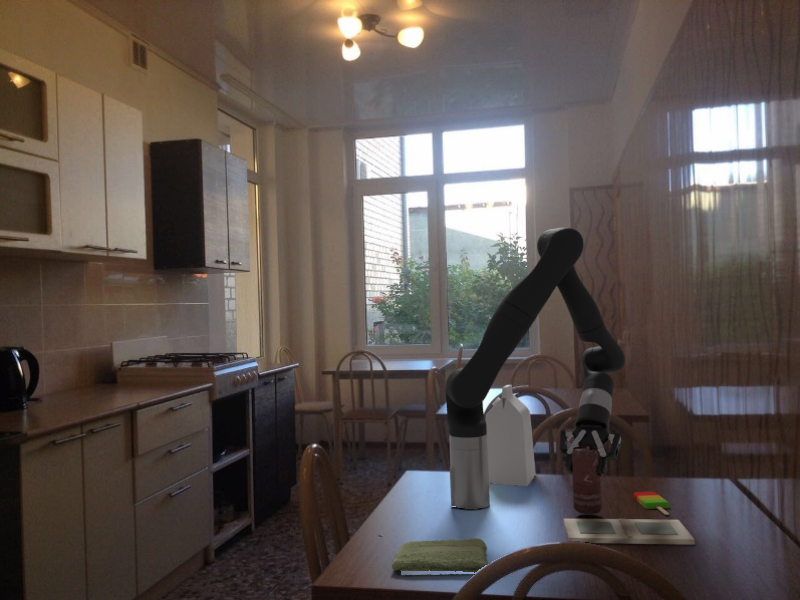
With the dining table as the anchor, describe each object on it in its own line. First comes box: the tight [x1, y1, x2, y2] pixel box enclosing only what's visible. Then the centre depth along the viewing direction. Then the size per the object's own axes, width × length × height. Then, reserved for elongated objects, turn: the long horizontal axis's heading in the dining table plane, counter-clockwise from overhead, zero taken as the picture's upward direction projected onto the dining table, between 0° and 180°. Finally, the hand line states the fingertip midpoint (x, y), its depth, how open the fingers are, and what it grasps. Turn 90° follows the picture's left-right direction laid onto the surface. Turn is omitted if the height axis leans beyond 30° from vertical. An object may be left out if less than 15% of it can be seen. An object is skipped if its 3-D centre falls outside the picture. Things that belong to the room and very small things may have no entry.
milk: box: [485, 384, 537, 487], centre depth 182 cm, size 12×12×26 cm
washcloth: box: [391, 537, 488, 573], centre depth 124 cm, size 13×18×3 cm
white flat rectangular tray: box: [563, 518, 696, 545], centre depth 135 cm, size 24×12×1 cm, turn 81°
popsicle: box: [633, 491, 670, 516], centre depth 153 cm, size 6×15×2 cm, turn 179°
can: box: [571, 446, 603, 515], centre depth 148 cm, size 6×6×14 cm
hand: (584, 472), depth 146 cm, fingers closed on can, 6 cm apart
